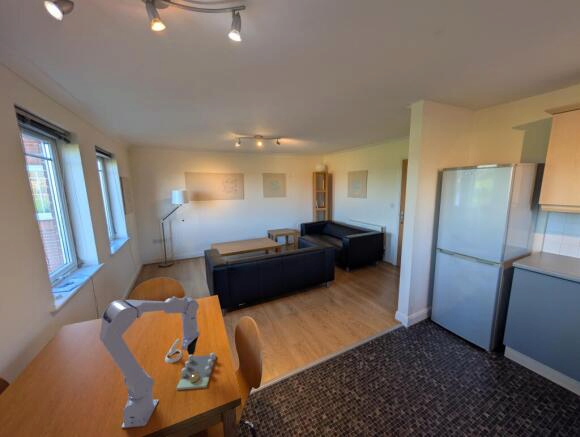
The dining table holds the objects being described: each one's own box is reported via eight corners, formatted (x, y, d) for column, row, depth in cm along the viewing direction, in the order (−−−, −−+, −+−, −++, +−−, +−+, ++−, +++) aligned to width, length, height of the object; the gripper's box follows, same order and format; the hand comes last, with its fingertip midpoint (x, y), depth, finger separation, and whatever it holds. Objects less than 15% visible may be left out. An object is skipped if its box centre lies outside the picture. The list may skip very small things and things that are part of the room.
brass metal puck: (198, 382, 93) (198, 378, 92) (188, 384, 92) (188, 379, 92) (200, 374, 97) (200, 370, 96) (191, 376, 96) (190, 372, 96)
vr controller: (186, 353, 104) (172, 348, 102) (174, 369, 106) (160, 364, 104) (191, 339, 111) (178, 334, 109) (180, 355, 113) (167, 350, 111)
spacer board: (206, 387, 92) (205, 379, 91) (176, 390, 90) (175, 381, 90) (216, 356, 108) (215, 349, 108) (191, 358, 107) (190, 351, 107)
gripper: (193, 335, 89) (195, 365, 91) (204, 315, 103) (205, 341, 105) (175, 336, 88) (177, 366, 90) (188, 315, 103) (190, 342, 104)
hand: (191, 353), depth 97 cm, fingers closed
